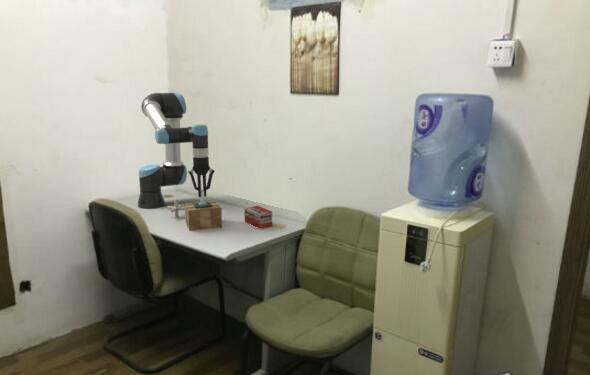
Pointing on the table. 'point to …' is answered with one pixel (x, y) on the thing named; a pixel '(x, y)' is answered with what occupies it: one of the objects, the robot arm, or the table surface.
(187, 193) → the table surface
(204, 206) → the collar
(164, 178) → the robot arm
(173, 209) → the pipe connector
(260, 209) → the medicine box
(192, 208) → the socket block
